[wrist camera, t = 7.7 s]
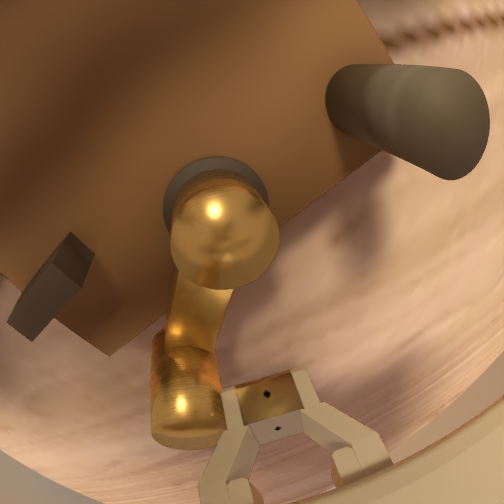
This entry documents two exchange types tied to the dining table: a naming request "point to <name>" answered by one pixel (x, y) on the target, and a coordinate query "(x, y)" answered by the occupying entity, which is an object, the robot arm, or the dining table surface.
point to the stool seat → (189, 134)
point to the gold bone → (205, 301)
